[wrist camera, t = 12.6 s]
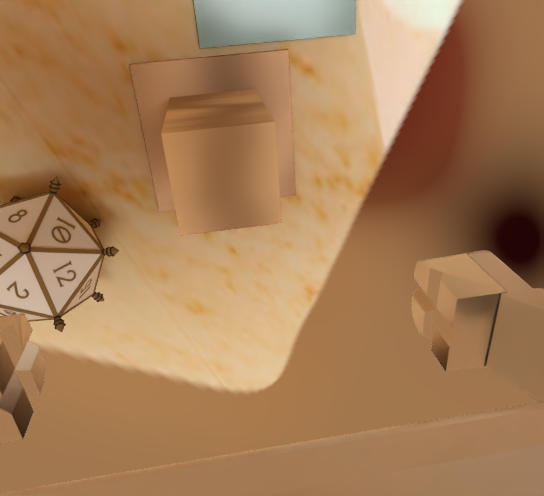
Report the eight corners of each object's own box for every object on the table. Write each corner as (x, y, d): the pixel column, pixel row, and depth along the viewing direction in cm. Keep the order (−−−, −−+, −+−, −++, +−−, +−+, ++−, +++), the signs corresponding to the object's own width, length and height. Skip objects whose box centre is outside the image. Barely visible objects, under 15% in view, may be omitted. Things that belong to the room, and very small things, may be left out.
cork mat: (159, 209, 31) (159, 211, 31) (130, 64, 27) (129, 65, 27) (294, 193, 32) (295, 195, 32) (287, 49, 28) (288, 50, 27)
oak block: (183, 178, 30) (180, 235, 23) (170, 97, 28) (160, 133, 21) (262, 169, 30) (281, 222, 24) (255, 88, 28) (274, 121, 21)
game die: (46, 220, 34) (-100, 299, 27) (56, 127, 29) (-125, 196, 21) (139, 298, 34) (13, 401, 26) (169, 219, 28) (19, 322, 20)
